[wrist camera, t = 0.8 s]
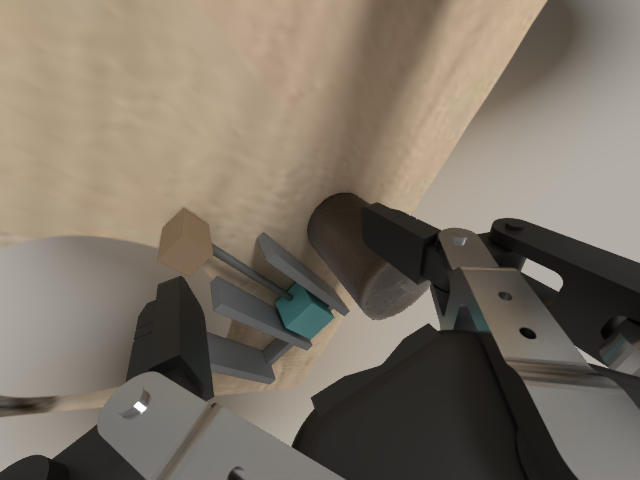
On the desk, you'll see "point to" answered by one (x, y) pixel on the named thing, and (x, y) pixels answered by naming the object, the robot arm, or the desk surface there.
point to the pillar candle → (359, 259)
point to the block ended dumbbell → (196, 248)
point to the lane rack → (262, 318)
